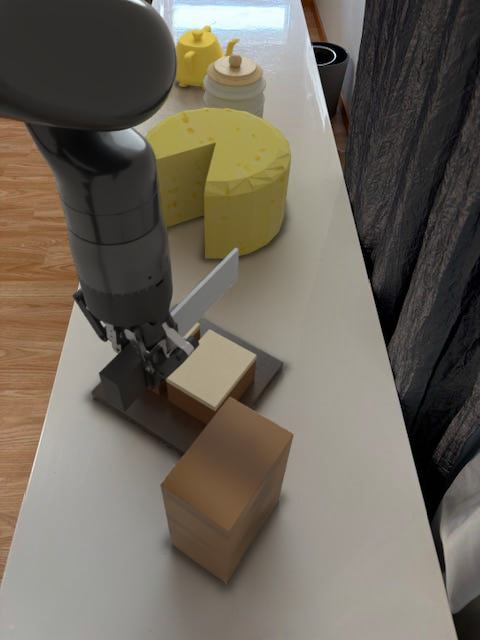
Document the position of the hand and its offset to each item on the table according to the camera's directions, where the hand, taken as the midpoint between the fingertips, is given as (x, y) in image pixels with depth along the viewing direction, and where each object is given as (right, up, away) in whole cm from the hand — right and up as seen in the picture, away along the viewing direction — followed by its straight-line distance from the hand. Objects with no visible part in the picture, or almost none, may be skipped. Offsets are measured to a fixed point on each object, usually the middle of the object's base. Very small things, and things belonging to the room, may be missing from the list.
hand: (144, 375), depth 58 cm
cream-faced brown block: (+6, -4, +22) cm, 23 cm away
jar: (+8, +47, +66) cm, 82 cm away
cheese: (+5, +27, +49) cm, 56 cm away
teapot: (+2, +65, +80) cm, 103 cm away
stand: (+8, -19, +12) cm, 24 cm away
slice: (-1, -1, +24) cm, 24 cm away
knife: (+3, +4, +3) cm, 6 cm away
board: (+3, -3, +24) cm, 25 cm away
